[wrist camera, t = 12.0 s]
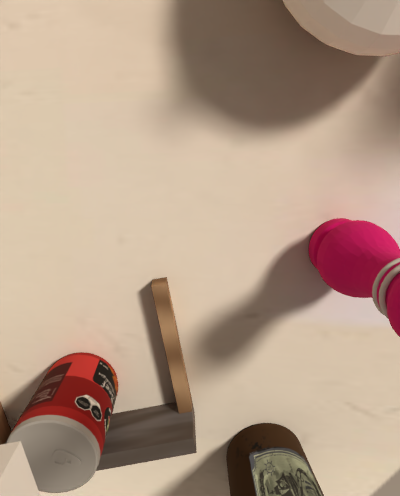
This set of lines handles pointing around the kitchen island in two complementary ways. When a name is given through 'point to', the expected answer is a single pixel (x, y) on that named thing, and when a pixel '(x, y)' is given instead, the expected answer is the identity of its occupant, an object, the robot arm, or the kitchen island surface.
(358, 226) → the pepper mill
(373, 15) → the vase
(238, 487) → the olive oil
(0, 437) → the guide lane
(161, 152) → the kitchen island surface
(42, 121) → the kitchen island surface
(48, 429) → the canned food
